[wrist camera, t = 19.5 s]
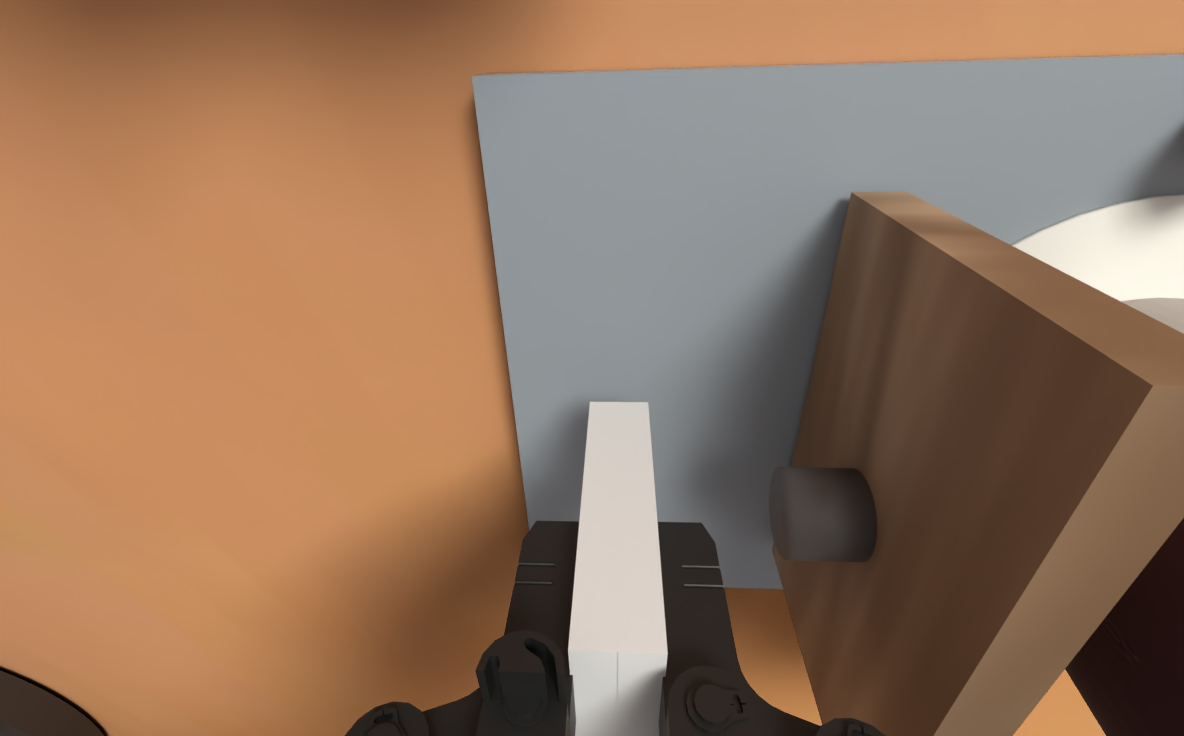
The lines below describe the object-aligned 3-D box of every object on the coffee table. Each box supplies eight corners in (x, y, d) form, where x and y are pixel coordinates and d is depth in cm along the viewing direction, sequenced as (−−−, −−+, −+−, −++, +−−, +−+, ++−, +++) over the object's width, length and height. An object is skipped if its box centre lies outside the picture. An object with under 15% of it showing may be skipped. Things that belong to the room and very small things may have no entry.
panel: (724, 549, 18) (783, 848, 11) (779, 193, 12) (980, 384, 5) (807, 551, 18) (917, 856, 11) (906, 191, 12) (1286, 386, 5)
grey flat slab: (540, 556, 21) (527, 631, 18) (484, 73, 12) (444, 81, 10) (1176, 573, 20) (1265, 657, 17) (1625, 40, 11) (1957, 38, 8)
